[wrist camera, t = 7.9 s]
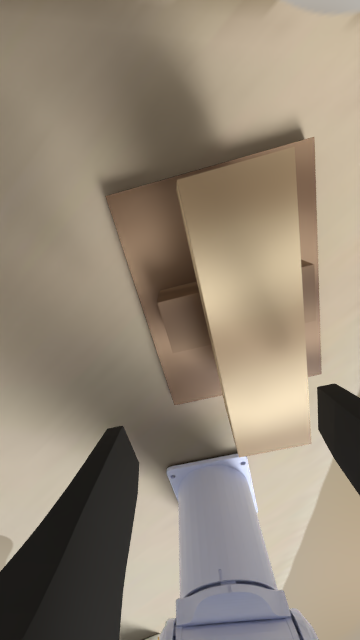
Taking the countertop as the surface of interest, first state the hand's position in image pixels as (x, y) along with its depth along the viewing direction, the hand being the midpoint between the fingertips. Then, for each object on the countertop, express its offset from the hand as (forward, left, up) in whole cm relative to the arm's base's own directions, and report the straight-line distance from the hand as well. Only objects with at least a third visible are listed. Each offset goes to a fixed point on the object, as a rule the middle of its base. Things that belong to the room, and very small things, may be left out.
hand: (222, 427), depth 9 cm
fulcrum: (+1, -3, -10) cm, 11 cm away
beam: (+2, -3, -7) cm, 7 cm away
